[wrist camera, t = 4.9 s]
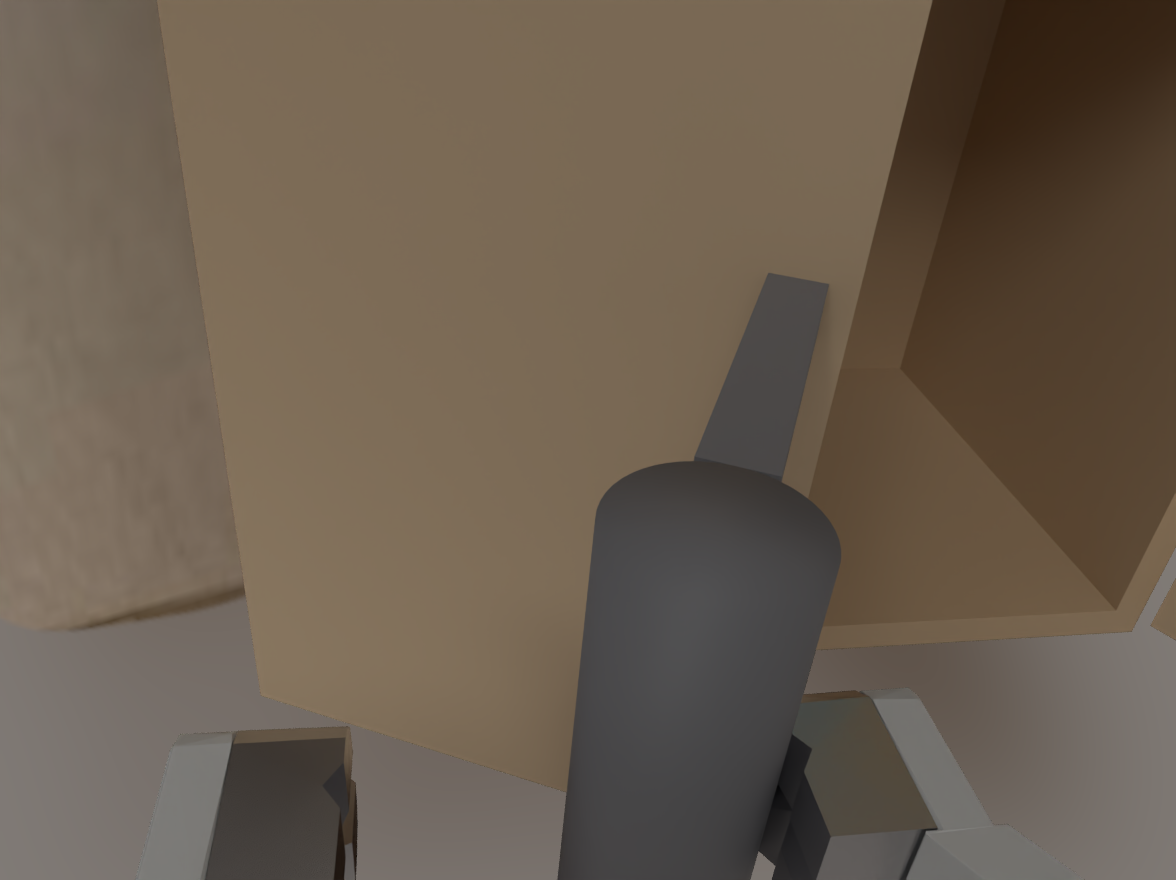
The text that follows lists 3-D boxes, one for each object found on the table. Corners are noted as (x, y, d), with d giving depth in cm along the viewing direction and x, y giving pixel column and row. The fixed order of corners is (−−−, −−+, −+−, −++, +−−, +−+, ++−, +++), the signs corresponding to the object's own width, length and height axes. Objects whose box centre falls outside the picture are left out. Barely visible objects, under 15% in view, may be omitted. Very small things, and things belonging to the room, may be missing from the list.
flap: (146, -293, 12) (-659, -458, 6) (1009, -232, 10) (1135, -393, 4) (276, 676, 21) (13, 1001, 15) (737, 819, 19) (646, 1266, 13)
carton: (265, -259, 23) (125, -334, 12) (1066, -175, 27) (1549, -170, 16) (318, 380, 33) (268, 682, 22) (905, 376, 37) (1131, 631, 25)
